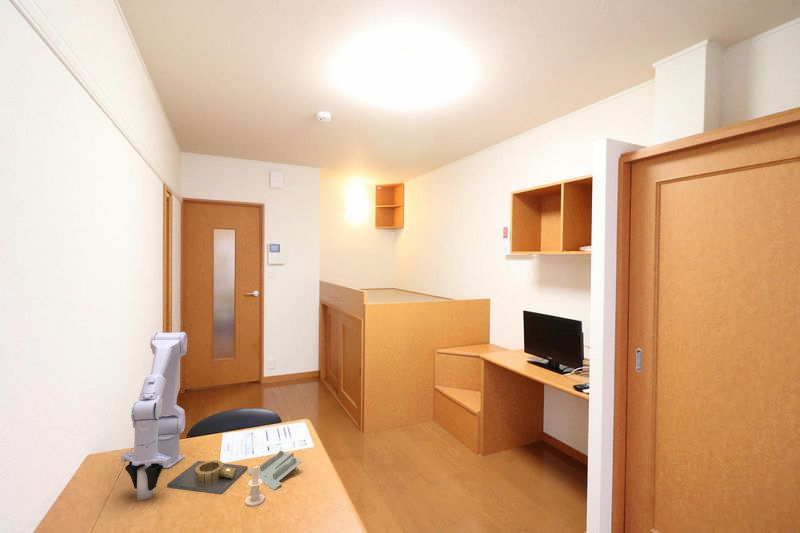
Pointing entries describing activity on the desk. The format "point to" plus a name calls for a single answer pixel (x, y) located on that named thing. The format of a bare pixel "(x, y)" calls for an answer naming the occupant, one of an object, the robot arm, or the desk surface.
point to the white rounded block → (143, 484)
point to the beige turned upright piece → (255, 489)
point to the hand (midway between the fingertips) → (145, 487)
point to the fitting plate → (205, 486)
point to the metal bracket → (276, 469)
